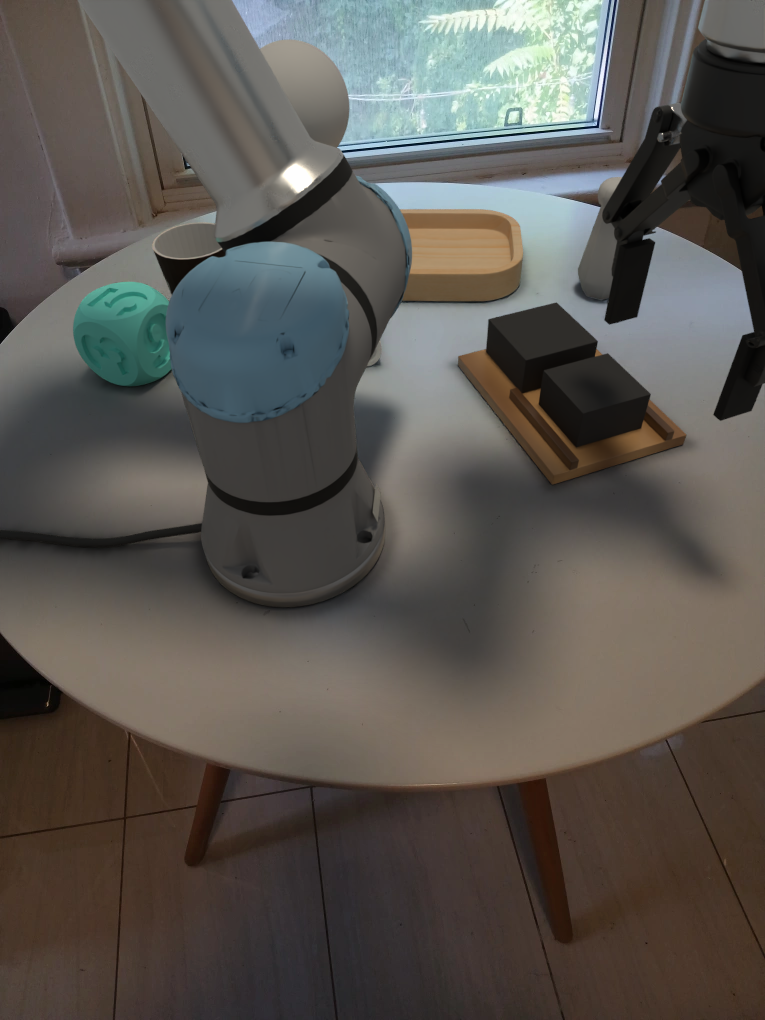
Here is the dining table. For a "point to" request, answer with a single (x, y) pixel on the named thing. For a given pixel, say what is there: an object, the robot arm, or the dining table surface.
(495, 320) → the pad
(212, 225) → the coffee mug
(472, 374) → the tray
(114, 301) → the decorative dice
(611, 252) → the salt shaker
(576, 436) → the black rectangular block
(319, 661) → the dining table surface
